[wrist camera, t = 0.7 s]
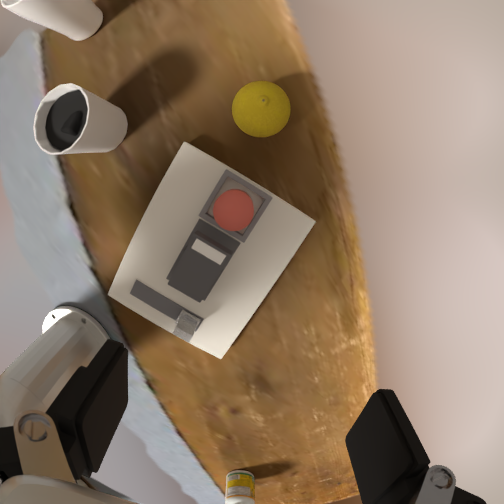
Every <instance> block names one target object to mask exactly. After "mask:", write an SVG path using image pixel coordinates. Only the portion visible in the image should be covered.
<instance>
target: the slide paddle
mask: <svg viewBox="0 0 504 504" xmlns="http://www.w3.org/2000/svg"><path fill="white" fill-rule="evenodd" d="M199 323H200V319H199V318H197V317H195V316H193V315H191V314H190V313H188V312H186V311H184V310H183V309H182V311H181V313H180V314H179V316H178V318H177V320H176V321H175V324H176V327H175V329H174V331H173V333H172V334H174V335H176V336H178V337H180V338H181V339H183V340H185V341H187V342H190V340H191V338H192V337H193V334H194V331H195V329H196V328H197V326H198V324H199Z"/></svg>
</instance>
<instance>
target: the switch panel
mask: <svg viewBox="0 0 504 504" xmlns="http://www.w3.org/2000/svg"><path fill="white" fill-rule="evenodd" d="M230 189H240V190H243V191H245V192H246V193H247V194H248V195H249V196H250V197H251V199H252V202H253V207H254V215H253V218H252V220H251V222H250V224H249V225H248V226H247V227H245V228H244V229H242V230H239V231H228V230H225V229H223V228H222V227H220V226H219V225H218V224H217V222H216V221H215V219H214V215H213V207H214V203H215V201H216V200H217V198H218V197H219V196H220V195H221V194H223V193H224V192H225V191H227V190H230ZM315 222H316V221H314V220H313V219H312V218H310V217H309V216H307V215H306V214H304V213H303V212H301V211H300V210H298V209H297V208H295V207H294V206H292V205H290V204H289V203H287V202H286V201H284V200H283V199H281V198H279V197H278V196H276V195H275V194H273V193H271V192H270V191H268V190H267V189H265V188H263V187H262V186H260V185H259V184H257V183H255V182H254V181H252V180H250V179H249V178H247V177H245V176H244V175H242V174H240V173H239V172H237V171H235V170H234V169H232V168H230V167H229V166H227V165H225V164H224V163H222V162H220V161H219V160H217V159H215V158H213V157H212V156H210V155H208V154H206V153H205V152H203V151H201V150H199V149H198V148H196V147H194V146H192V145H191V144H189V143H187V142H184V143H183V144H182V146H181V148H180V149H179V151H178V153H177V155H176V156H175V158H174V160H173V162H172V163H171V165H170V167H169V169H168V170H167V172H166V174H165V176H164V178H163V179H162V181H161V183H160V185H159V187H158V189H157V190H156V192H155V194H154V196H153V198H152V200H151V202H150V204H149V206H148V208H147V210H146V212H145V214H144V216H143V218H142V220H141V222H140V224H139V226H138V228H137V230H136V232H135V234H134V236H133V238H132V240H131V242H130V244H129V247H128V249H127V251H126V253H125V255H124V258H123V260H122V262H121V264H120V267H119V269H118V271H117V273H116V276H115V278H114V280H113V283H112V285H111V288H110V290H109V293H108V295H109V296H110V297H112V298H113V299H115V300H117V301H118V302H120V303H121V304H123V305H125V306H126V307H128V308H129V309H131V310H133V311H134V312H136V313H138V314H139V315H141V316H143V317H144V318H146V319H148V320H149V321H151V322H153V323H155V324H156V325H158V326H160V327H161V328H163V329H165V330H167V331H169V332H170V333H173V331H174V329H175V327H176V324H175V321H176V320H177V318H178V316H179V314H180V313H181V311H182V309H183V310H184V311H186V312H188V313H190V314H191V315H193V316H195V317H197V318H199V319H200V323H199V324H198V326H197V328H196V329H195V331H194V334H193V337H192V338H191V340H190V342H189V343H190V344H192V345H194V346H196V347H198V348H200V349H202V350H204V351H206V352H208V353H210V354H212V355H214V356H216V357H218V358H220V359H222V357H223V356H224V354H225V353H226V352H227V350H228V349H229V347H230V346H231V345H232V343H233V342H234V341H235V339H236V338H237V336H238V335H239V334H240V332H241V331H242V329H243V328H244V326H245V325H246V324H247V322H248V321H249V319H250V318H251V317H252V315H253V314H254V312H255V311H256V309H257V308H258V307H259V305H260V304H261V302H262V301H263V299H264V298H265V297H266V295H267V294H268V292H269V291H270V289H271V288H272V286H273V285H274V283H275V282H276V281H277V279H278V278H279V276H280V275H281V273H282V272H283V270H284V269H285V267H286V266H287V264H288V263H289V261H290V260H291V258H292V257H293V255H294V254H295V253H296V251H297V250H298V248H299V247H300V245H301V244H302V242H303V241H304V239H305V238H306V236H307V234H308V233H309V231H310V230H311V228H312V227H313V225H314V224H315ZM197 230H198V231H199V232H201V233H203V234H204V235H206V236H208V237H210V238H211V239H213V240H215V241H216V242H218V243H220V244H221V245H223V246H225V247H226V248H228V249H230V250H231V251H233V253H232V255H231V257H230V259H229V260H228V262H227V263H226V265H225V266H224V268H223V269H222V271H221V272H220V274H219V275H218V277H217V278H216V280H215V281H214V283H213V284H212V286H211V287H210V289H209V290H208V292H207V293H206V295H205V296H204V298H203V299H202V301H201V302H200V303H199V302H197V301H196V300H194V299H192V298H190V297H189V296H187V295H185V294H183V293H182V292H180V291H178V290H176V289H175V288H173V287H171V286H170V285H168V282H169V280H170V278H171V276H172V274H173V272H174V270H175V268H176V267H177V265H178V263H179V261H180V259H181V257H182V255H183V254H184V252H185V250H186V248H187V246H188V244H189V242H190V241H191V239H192V237H193V235H194V233H195V232H196V231H197ZM179 338H180V337H179Z"/></svg>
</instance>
